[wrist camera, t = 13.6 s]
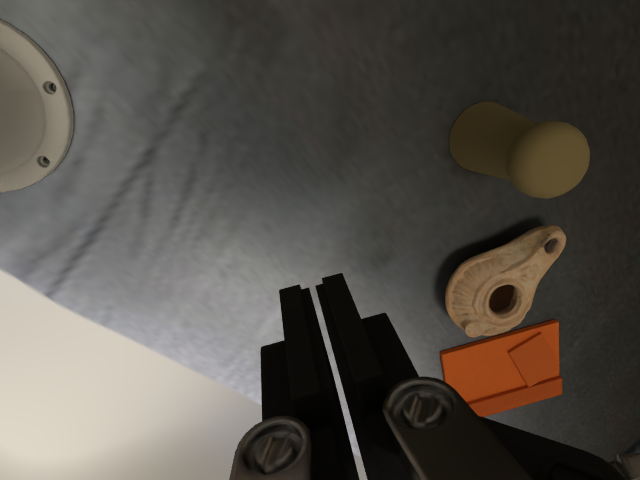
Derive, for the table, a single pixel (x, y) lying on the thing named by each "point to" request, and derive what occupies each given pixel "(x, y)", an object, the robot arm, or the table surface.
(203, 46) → the table surface
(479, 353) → the rust cloth
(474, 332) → the pottery oil lamp
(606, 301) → the table surface
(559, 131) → the cork
